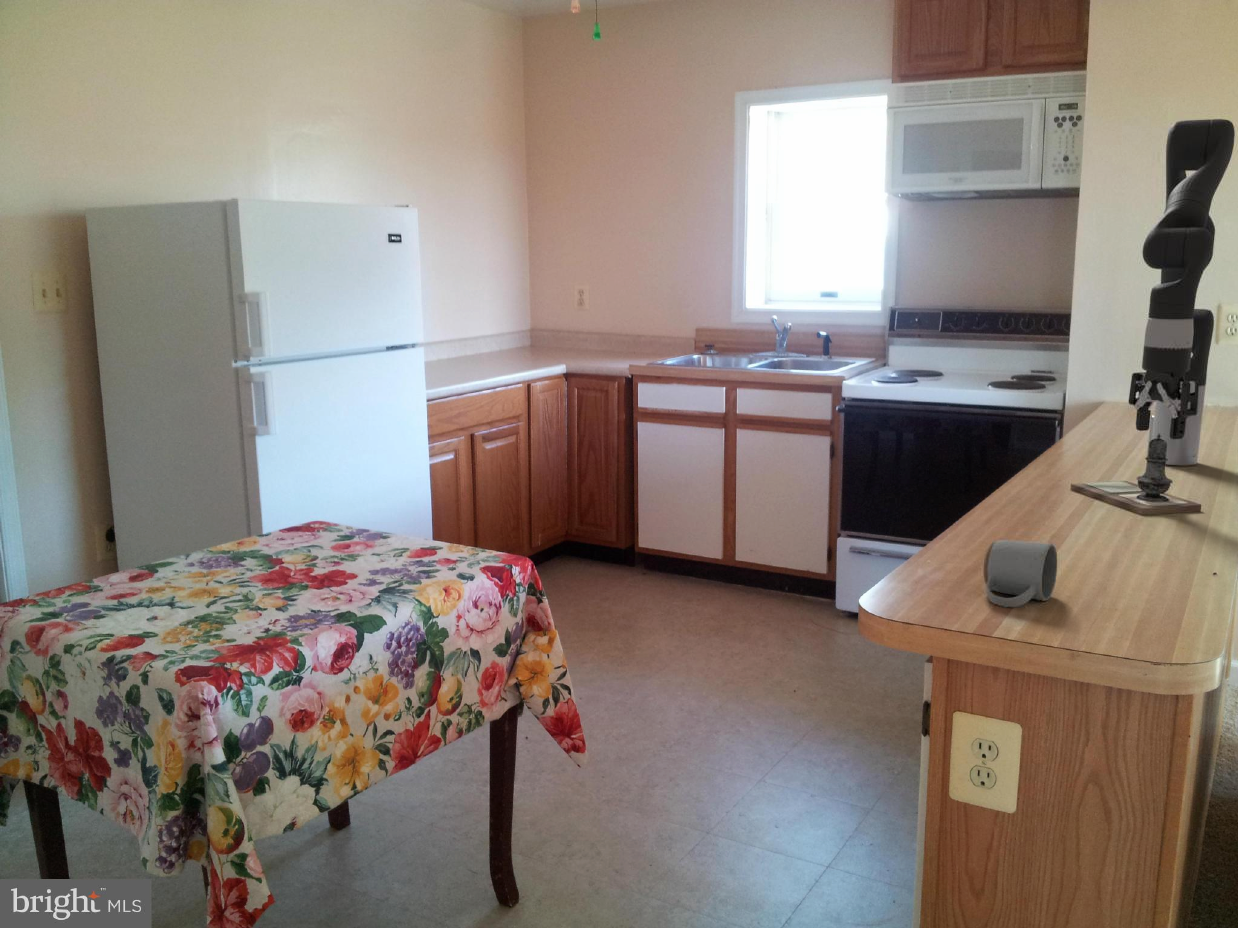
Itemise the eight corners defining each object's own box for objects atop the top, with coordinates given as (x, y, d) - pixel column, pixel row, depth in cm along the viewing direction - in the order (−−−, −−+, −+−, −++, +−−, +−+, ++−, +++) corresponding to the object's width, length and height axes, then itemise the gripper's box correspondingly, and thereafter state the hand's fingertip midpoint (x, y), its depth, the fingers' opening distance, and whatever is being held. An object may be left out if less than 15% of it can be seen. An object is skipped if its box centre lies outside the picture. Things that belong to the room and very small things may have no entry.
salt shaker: (1175, 503, 183) (1182, 437, 181) (1139, 501, 184) (1146, 436, 182) (1164, 495, 189) (1171, 431, 186) (1130, 494, 190) (1136, 430, 187)
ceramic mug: (995, 581, 145) (999, 529, 144) (1056, 592, 141) (1060, 538, 139) (971, 603, 137) (974, 548, 136) (1034, 615, 132) (1039, 558, 131)
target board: (1070, 489, 200) (1071, 482, 199) (1124, 486, 202) (1125, 479, 202) (1141, 515, 181) (1142, 507, 180) (1200, 511, 183) (1201, 503, 183)
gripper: (1217, 347, 174) (1206, 440, 178) (1157, 339, 188) (1149, 426, 192) (1178, 349, 173) (1169, 443, 176) (1121, 341, 187) (1113, 428, 190)
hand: (1158, 434), depth 184 cm, fingers open, 8 cm apart
